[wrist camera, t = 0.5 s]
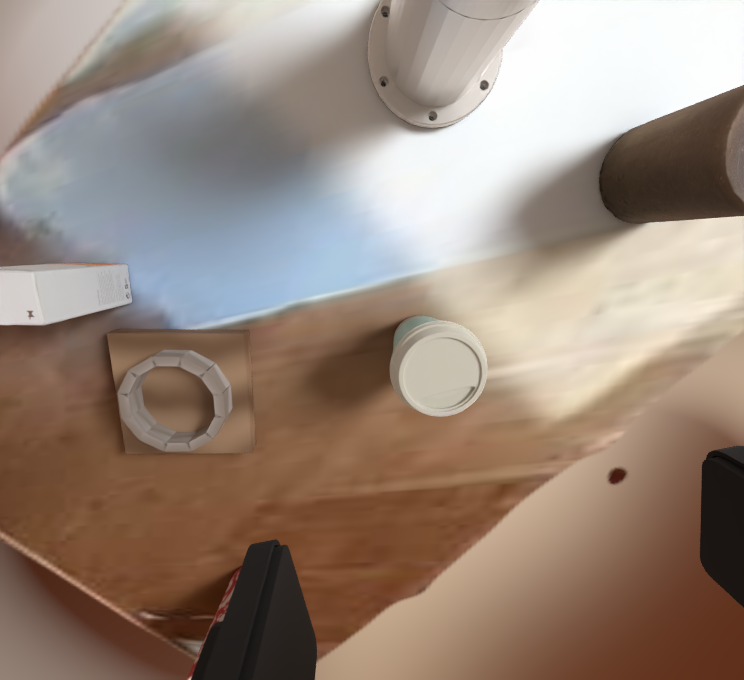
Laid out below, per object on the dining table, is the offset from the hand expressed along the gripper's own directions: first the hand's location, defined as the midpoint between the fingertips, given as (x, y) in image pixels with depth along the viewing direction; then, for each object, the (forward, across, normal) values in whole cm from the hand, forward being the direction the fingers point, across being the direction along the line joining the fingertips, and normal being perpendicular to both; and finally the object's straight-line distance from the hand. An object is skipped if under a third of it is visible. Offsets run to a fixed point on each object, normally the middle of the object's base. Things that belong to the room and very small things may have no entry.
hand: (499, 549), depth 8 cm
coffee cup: (+35, -3, +4) cm, 35 cm away
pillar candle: (+34, -30, -8) cm, 46 cm away
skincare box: (+35, +29, -9) cm, 46 cm away
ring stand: (+35, +23, +5) cm, 42 cm away
